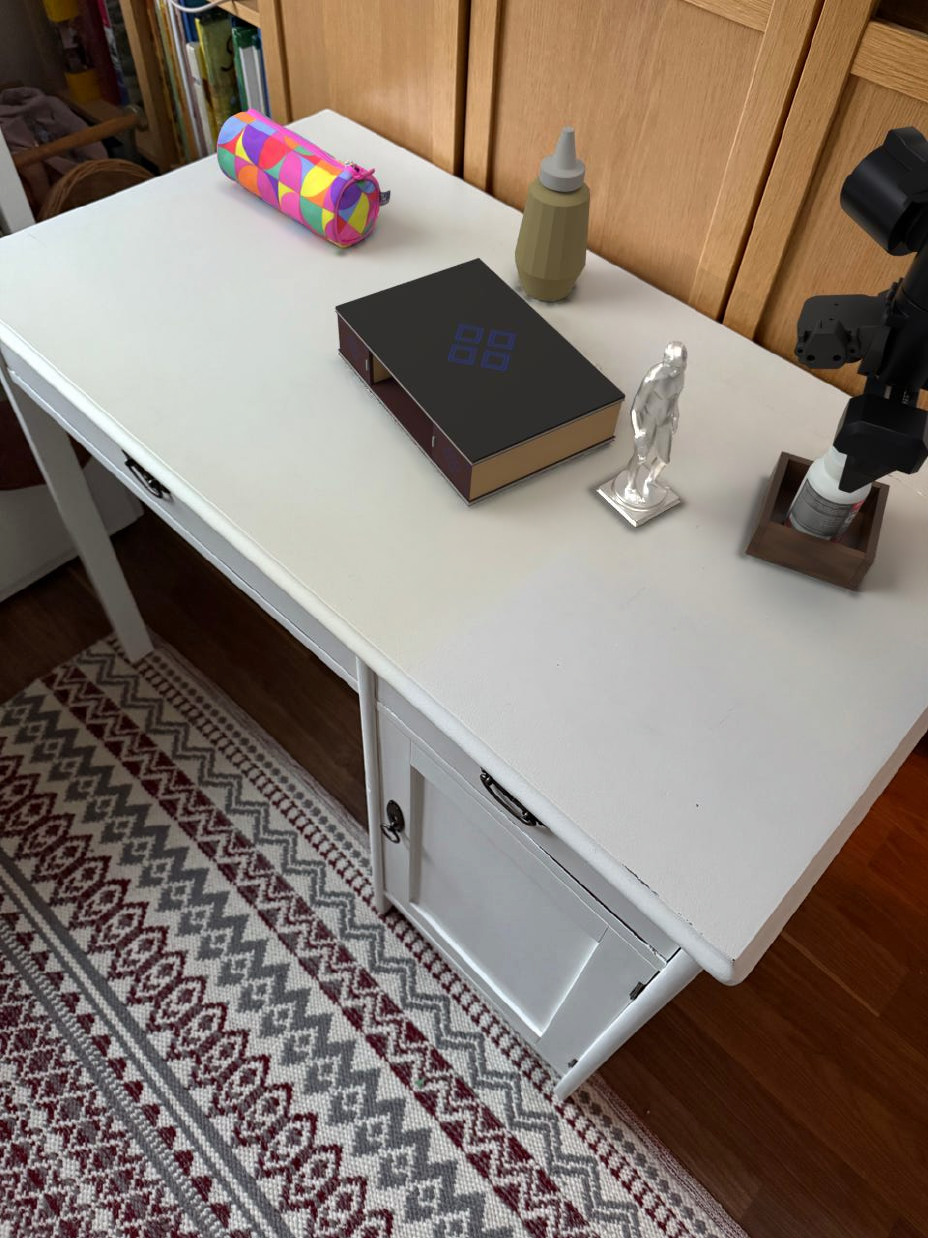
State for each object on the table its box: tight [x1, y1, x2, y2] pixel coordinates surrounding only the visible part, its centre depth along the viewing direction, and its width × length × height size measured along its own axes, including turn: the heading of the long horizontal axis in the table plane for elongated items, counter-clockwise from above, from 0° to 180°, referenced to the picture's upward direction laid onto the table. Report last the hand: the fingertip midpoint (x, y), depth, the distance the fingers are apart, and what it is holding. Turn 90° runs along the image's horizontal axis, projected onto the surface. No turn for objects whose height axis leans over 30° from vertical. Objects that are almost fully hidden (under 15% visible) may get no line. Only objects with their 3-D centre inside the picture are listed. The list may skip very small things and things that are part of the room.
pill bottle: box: [784, 443, 871, 544], centre depth 80 cm, size 5×5×10 cm
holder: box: [744, 450, 891, 592], centre depth 83 cm, size 10×10×4 cm
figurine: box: [595, 340, 689, 528], centre depth 79 cm, size 8×7×18 cm
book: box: [334, 257, 626, 508], centre depth 90 cm, size 17×25×7 cm
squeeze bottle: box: [514, 125, 591, 302], centre depth 98 cm, size 8×8×18 cm
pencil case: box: [216, 108, 392, 248], centre depth 108 cm, size 22×9×9 cm, turn 51°
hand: (853, 454), depth 76 cm, fingers open, 9 cm apart
